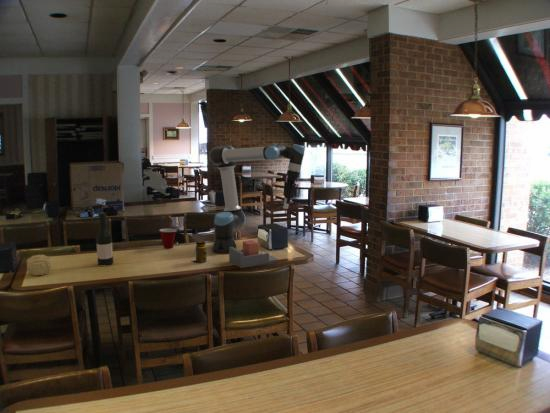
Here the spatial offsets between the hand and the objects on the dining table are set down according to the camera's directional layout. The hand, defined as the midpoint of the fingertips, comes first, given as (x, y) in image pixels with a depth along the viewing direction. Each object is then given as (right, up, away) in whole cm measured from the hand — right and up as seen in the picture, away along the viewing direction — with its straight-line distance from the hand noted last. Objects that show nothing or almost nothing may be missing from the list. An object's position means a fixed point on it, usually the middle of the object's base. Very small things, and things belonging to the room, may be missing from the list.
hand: (285, 208), depth 292 cm
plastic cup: (-74, -25, +16) cm, 80 cm away
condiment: (-50, -31, -13) cm, 60 cm away
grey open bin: (-19, -31, -13) cm, 38 cm away
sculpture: (-132, -35, -34) cm, 141 cm away
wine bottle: (-103, -32, -17) cm, 109 cm away
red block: (-20, -29, -14) cm, 38 cm away
